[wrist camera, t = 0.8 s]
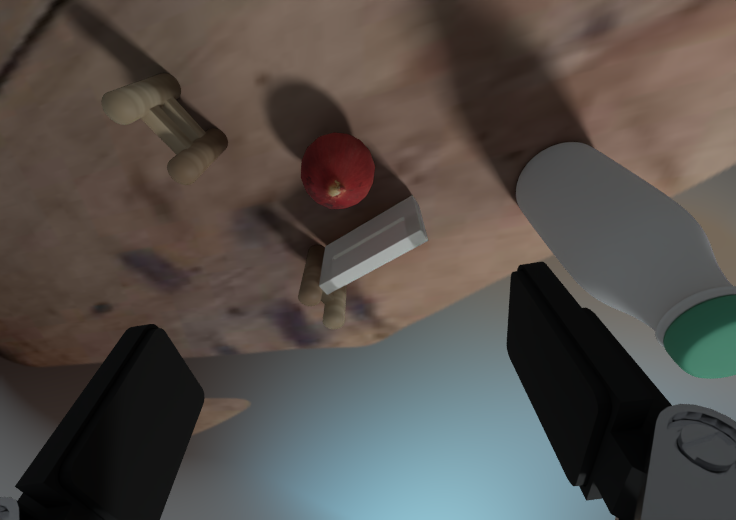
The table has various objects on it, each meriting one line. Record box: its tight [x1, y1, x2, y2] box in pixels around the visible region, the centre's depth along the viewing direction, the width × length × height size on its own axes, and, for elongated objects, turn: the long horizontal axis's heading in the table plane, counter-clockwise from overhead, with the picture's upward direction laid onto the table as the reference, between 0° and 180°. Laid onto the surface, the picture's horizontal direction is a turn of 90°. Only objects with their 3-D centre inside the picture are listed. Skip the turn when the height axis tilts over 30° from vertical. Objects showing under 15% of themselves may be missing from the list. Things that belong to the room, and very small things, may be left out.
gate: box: [319, 195, 428, 295], centre depth 33 cm, size 10×1×6 cm, turn 124°
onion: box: [301, 132, 375, 209], centre depth 29 cm, size 6×6×8 cm
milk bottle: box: [516, 142, 736, 378], centre depth 25 cm, size 8×8×20 cm
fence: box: [102, 73, 347, 329], centre depth 31 cm, size 2×24×7 cm, turn 34°
